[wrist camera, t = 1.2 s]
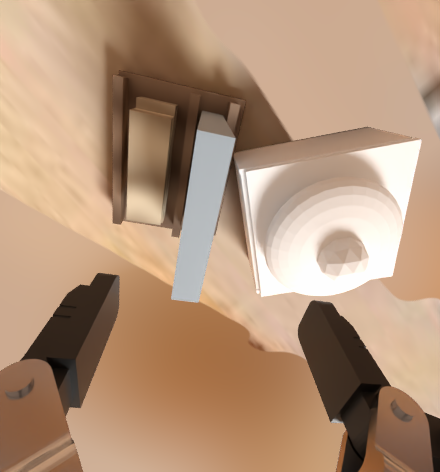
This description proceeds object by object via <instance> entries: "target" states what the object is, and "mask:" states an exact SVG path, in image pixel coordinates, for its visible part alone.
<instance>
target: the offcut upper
mask: <svg viewBox="0 0 440 472" xmlns="http://www.w3.org/2000/svg"><path fill="white" fill-rule="evenodd" d="M173 124H174V116H170V115H165V114H161V113H156V112H152V111H147V110H143V109H138V108H134V109H130V113H129V146H128V179H127V212H126V220H130V221H137V222H143V223H149V224H155V225H161V222H162V219H163V215H164V206H165V197H166V188H167V179H168V170H169V161H170V151H171V142H172V133H173Z"/></svg>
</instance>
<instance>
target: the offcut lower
mask: <svg viewBox="0 0 440 472" xmlns="http://www.w3.org/2000/svg"><path fill="white" fill-rule="evenodd" d="M136 108H138V109H143V110H147V111H152V112H156V113H161V114H165V115H170V116H174V124H173V133H172V142H171V151H170V161H169V170H168V179H167V188H166V197H165V206H164V215H163V219H162V222H161V223H163V221H164V218H165V214H166V205H167V197H168V188H169V179H170V170H171V161H172V152H173V144H174V135H175V126H176V117H177V108H178V105H176V104H172V103H167V102H163V101H159V100H154V99H150V98H145V97H136Z"/></svg>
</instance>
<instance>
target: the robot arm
mask: <svg viewBox="0 0 440 472" xmlns="http://www.w3.org/2000/svg"><path fill="white" fill-rule="evenodd" d="M118 309H119V276H118V275H111V274H103V273H98V274H97V275H96V276H95V278H94V280H93V281H92V283H91V284H90V286H87V285H79V286H78V287H76V288H75V289H73V290H72V291H71V292H69V293H68V294H67V295H66V297H65V298H64V299H63V301H62V303H61V304H60V306H59V307H58V308H57V309H56V311H55V312H54V314H53V317H51V318H50V320H49V321H48V322H47V324H46V325H45V327H44V328H43V330H42V331H41V332H40V334H39V335H38V337H37V338H36V340H35V341H34V343H33V344H32V345H31V347H30V348H29V350H28V351H27V353H26V354H25V356H24V357H23V358H22V359H21V360H20V361H19V362H16V363H13V364H11V365H9V366H7V367H6V368H4V369H3V370H1V371H0V472H83V470H82V467H81V463H80V459H79V456H78V453H77V449H76V446H75V443H74V441H73V440H72V438H71V435H70V432H69V428H68V424H67V421H66V414H67V412H68V410H69V408H70V407H75V408H81V405H82V403H83V400H84V398H85V396H86V393H87V391H88V388H89V386H90V383H91V381H92V378H93V376H94V373H95V371H96V368H97V366H98V363H99V361H100V358H101V356H102V353H103V350H104V348H105V346H106V343H107V341H108V338H109V336H110V333H111V331H112V328H113V325H114V323H115V321H116V318H117V314H118ZM298 338H299V341H300V344H301V346H302V349H303V352H304V354H305V357H306V359H307V362H308V365H309V367H310V370H311V372H312V375H313V378H314V380H315V383H316V385H317V388H318V391H319V393H320V396H321V398H322V401H323V404H324V406H325V409H326V411H327V414H328V416H329V419H330V422H331V423H344V425H345V428H346V431H345V432H344V434H343V437H342V442H341V447H340V452H339V457H338V462H337V468H336V472H440V419H439V418H437V417H434V416H432V415H429V414H427V413H424V412H423V410H422V409H421V407H420V406H419V405H418V404H417V403H416V402H415V401H414V400H413V399H412V398H411V397H410V396H409V395H407V394H406V393H404V392H403V391H401V390H399V389H397V388H394V387H391V385H390V384H389V382H388V381H387V379H386V378H385V376H384V375H383V373H382V371H381V370H380V368H379V367H378V365H377V364H376V362H375V360H374V359H373V357H372V356H371V354H370V353H369V351H368V349H366V346H365V345H364V343H363V342H362V340H360V337H359V335H358V334H357V332H356V331H355V329H354V328H353V326H352V325H351V324H350V323H349V322H348V321H347V320H346V319H345V318H344V317H343V316H340V315H339V313H338V312H337V310H336V308H335V307H334V305H333V304H332V303H330V302H323V301H315V300H314V301H311V302H310V304H309V306H308V308H307V310H306V312H305V314H304V316H303V318H302V320H301V322H300V324H299V327H298Z"/></svg>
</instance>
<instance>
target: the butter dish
mask: <svg viewBox="0 0 440 472" xmlns="http://www.w3.org/2000/svg"><path fill="white" fill-rule="evenodd" d="M421 141H422V139H418V138H414V139H412V137H408V136H403V135H400V134H396V133H391V132H387V131H383V130H379V129H375V128H371V127H364V128H358V129H353V130H348V131H342V132H337V133H332V134H327V135H321V136H316V137H311V138H306V139H301V140H295V141H291V142H286V143H281V144H276V145H270V146H265V147H260V148H255V149H249V150H244V151H239V152H234V156H233V157H234V162H235V169H236V176H237V183H238V189H239V196H240V203H241V210H242V217H243V224H244V231H245V237H246V244H247V251H248V258H249V263H250V267H251V271H252V275H253V280H254V284H255V288H256V292H257V293H261V297H263V296H270V295H276V294H282V293H288V292H297V293H301V294H305V295H314V296H326V295H334V294H338V293H343V292H346V291H348V290H351V289H354V288H356V287H358V286H360V285H362V284H364V283H365V282H367V281H368V280H371V279H377V278H383V277H389V276H392V275H393V270H394V265H395V261H396V256H397V251H398V247H399V243H400V239H401V236H402V229H403V223H404V219H405V215H406V210H407V205H408V201H409V196H410V191H411V187H412V182H413V178H414V173H415V168H416V163H417V159H418V154H419V150H420V145H421Z"/></svg>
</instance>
